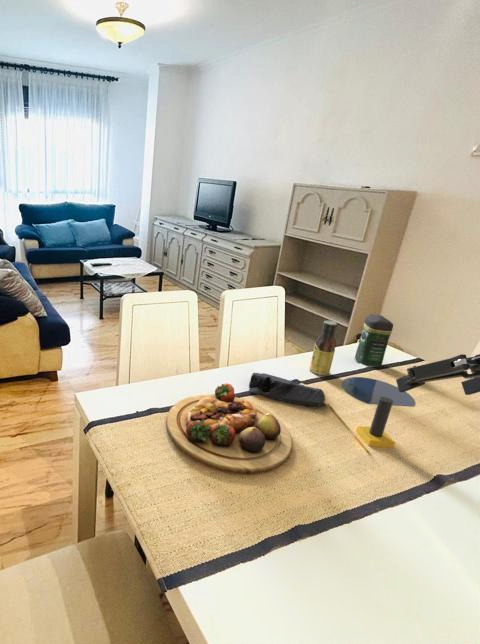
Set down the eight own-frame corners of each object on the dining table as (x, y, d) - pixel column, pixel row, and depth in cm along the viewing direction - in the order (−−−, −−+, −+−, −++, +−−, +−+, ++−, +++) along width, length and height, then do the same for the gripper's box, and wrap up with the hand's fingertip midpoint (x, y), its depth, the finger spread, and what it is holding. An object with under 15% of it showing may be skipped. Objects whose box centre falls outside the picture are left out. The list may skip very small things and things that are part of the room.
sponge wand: (377, 438, 101) (391, 393, 97) (391, 453, 96) (407, 407, 91) (354, 437, 101) (367, 392, 97) (366, 452, 96) (381, 405, 91)
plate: (389, 382, 131) (390, 378, 131) (430, 415, 112) (431, 412, 112) (329, 378, 132) (330, 375, 132) (359, 411, 113) (360, 407, 113)
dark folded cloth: (322, 415, 110) (325, 401, 109) (244, 393, 120) (246, 380, 119) (325, 392, 123) (328, 379, 121) (254, 374, 133) (256, 361, 131)
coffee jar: (383, 370, 139) (398, 323, 133) (359, 367, 141) (373, 320, 134) (374, 359, 148) (387, 314, 141) (351, 356, 150) (363, 311, 143)
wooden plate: (185, 390, 121) (188, 366, 118) (294, 419, 108) (300, 393, 106) (147, 449, 94) (149, 420, 91) (286, 496, 81) (294, 465, 78)
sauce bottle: (312, 369, 138) (324, 317, 131) (330, 375, 134) (344, 322, 127) (305, 374, 134) (317, 321, 127) (324, 381, 130) (337, 326, 123)
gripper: (459, 372, 60) (376, 402, 79) (622, 378, 59) (499, 407, 79) (444, 328, 63) (368, 367, 82) (598, 334, 63) (486, 372, 82)
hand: (432, 387), depth 81 cm, fingers open, 13 cm apart
